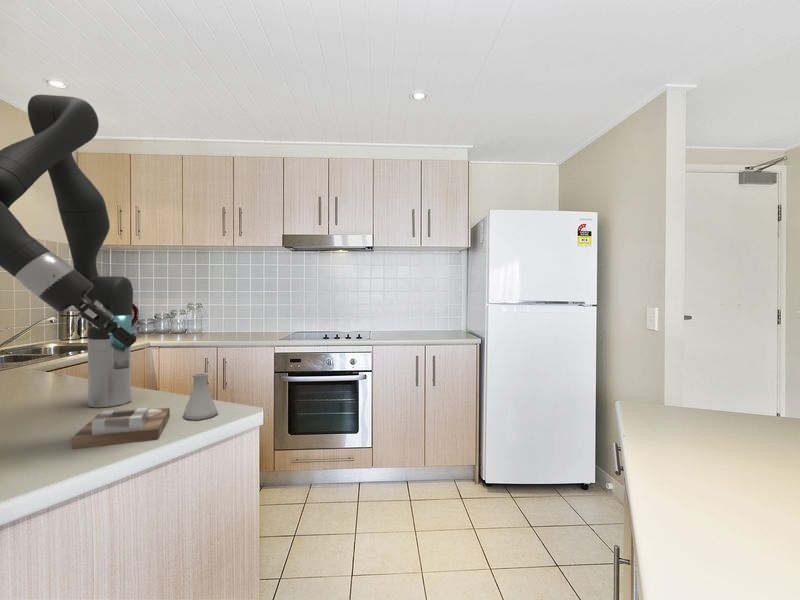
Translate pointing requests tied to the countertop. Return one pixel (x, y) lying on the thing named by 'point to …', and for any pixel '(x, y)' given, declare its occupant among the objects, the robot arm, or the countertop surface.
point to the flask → (200, 400)
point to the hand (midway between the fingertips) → (132, 342)
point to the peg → (118, 348)
